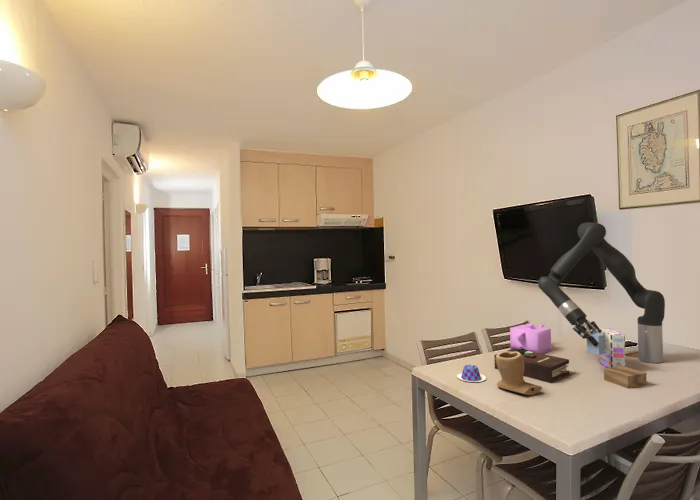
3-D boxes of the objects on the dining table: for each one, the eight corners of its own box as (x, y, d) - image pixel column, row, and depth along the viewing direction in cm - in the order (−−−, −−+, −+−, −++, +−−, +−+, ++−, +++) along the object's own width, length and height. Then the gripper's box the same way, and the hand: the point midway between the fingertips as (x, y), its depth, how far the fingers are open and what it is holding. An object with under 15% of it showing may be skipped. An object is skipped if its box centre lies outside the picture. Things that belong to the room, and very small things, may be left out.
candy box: (626, 372, 169) (625, 334, 169) (611, 371, 170) (610, 334, 170) (611, 362, 182) (611, 327, 182) (597, 362, 184) (597, 327, 183)
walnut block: (622, 377, 163) (621, 365, 163) (646, 385, 154) (646, 373, 154) (604, 380, 160) (603, 368, 160) (627, 389, 151) (627, 376, 151)
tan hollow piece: (489, 388, 155) (488, 351, 154) (507, 382, 161) (506, 346, 161) (525, 401, 142) (524, 360, 142) (543, 393, 149) (542, 354, 149)
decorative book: (554, 367, 156) (488, 352, 180) (554, 386, 156) (488, 368, 180) (576, 358, 168) (511, 345, 192) (576, 375, 168) (511, 360, 192)
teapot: (558, 348, 209) (557, 322, 209) (532, 357, 195) (531, 329, 194) (531, 343, 221) (530, 318, 221) (505, 351, 207) (504, 324, 207)
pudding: (480, 385, 159) (480, 372, 159) (452, 380, 166) (452, 368, 166) (489, 377, 169) (489, 365, 169) (462, 372, 176) (462, 360, 176)
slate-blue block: (593, 350, 172) (593, 332, 172) (605, 353, 168) (605, 334, 167) (587, 352, 169) (586, 334, 169) (599, 355, 165) (598, 336, 165)
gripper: (568, 309, 171) (597, 341, 161) (586, 305, 178) (616, 336, 168) (557, 319, 176) (584, 351, 166) (575, 315, 183) (603, 346, 173)
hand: (600, 343), depth 167 cm, fingers closed on slate-blue block, 5 cm apart
